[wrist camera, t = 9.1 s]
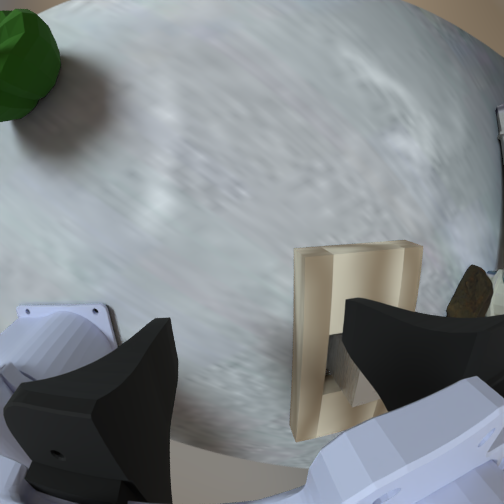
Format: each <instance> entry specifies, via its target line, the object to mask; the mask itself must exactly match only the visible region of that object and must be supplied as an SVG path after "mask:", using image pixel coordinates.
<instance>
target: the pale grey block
mask: <svg viewBox="0 0 504 504" xmlns="http://www.w3.org/2000/svg"><path fill="white" fill-rule="evenodd" d="M326 367H327V369H328V370H329V372H330V373H331V375H332V376H333V378H334V380H335V381H336V383H337V384H338V386H339V387H340V389H341V391H342V392H343V394H344V395H345V397H346V398H347V400H348V401H349V403H350V405H351V406H352V407H356V406H359V405H362V404H366V403H369V402H372V401H375V400H378V399H381V398H380V397H379V395H378V394H377V392H376V391H375V389H374V388H373V387H372V385H371V384H370V383H369V381H368V380H367V379H366V378H365V376H364V375H363V374H362V372H361V371H360V370H359V368H358V367H357V366H356V364H355V363H354V362H353V360H352V359H351V358H350V356H349V354H348V352H347V350H346V348H345V346H344V344H343V342H342V333H338V334H332V335H329V342H328V352H327V362H326Z"/></svg>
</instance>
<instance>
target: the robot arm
mask: <svg viewBox="0 0 504 504" xmlns="http://www.w3.org/2000/svg"><path fill="white" fill-rule="evenodd" d="M94 308H95V309H97V310H98V313H97V312H95V311H94ZM28 310H29V311H30V312H29V311H28ZM16 311H17V315H18V319H17V320H15V321H14V322H13V323H12V324H11V325H10V326H9V327H7V328H6V329H5V330H4V331H3V332H2V333H1V334H0V504H172V495H171V479H170V425H171V418H172V412H173V406H174V400H175V394H176V388H177V382H178V357H177V352H176V347H175V341H174V336H173V331H172V325H171V319H170V318H155V319H154V320H152V321H151V322H150V323H148V324H147V325H146V326H145V327H143V328H142V329H141V330H140V331H139V332H137V333H136V334H135V335H134V336H133V337H131V338H130V339H129V340H127V341H126V342H125V343H123V344H122V345H121V346H119V347H118V346H117V342H116V338H115V335H114V331H113V327H112V323H111V319H110V315H109V311H108V308H107V306H106V305H104V304H101V303H99V304H60V305H19V306H17V308H16ZM342 342H343V344H344V346H345V348H346V350H347V352H348V354H349V356H350V358H351V359H352V360H353V362H354V363H355V364H356V366H357V367H358V368H359V370H360V371H361V372H362V374H363V375H364V376H365V378H366V379H367V380H368V381H369V383H370V384H371V385H372V387H373V388H374V389H375V391H376V392H377V394H378V395H379V397H380V398H381V400H382V402H383V403H384V405H385V407H386V409H387V411H388V412H387V413H384V414H381V415H379V416H376V417H373V418H370V419H368V420H366V421H364V422H362V423H360V424H358V425H355V426H353V427H351V428H349V429H347V430H344V431H343V432H342V433H341V434H339V435H338V436H337V437H336V438H334V439H333V440H332V441H330V442H329V443H328V444H326V445H325V446H324V447H323V448H322V449H321V450H320V452H319V453H318V455H317V457H316V458H315V460H314V461H313V463H312V464H311V466H310V467H309V471H308V476H307V482H306V484H305V485H303V486H300V487H298V488H295V489H292V490H289V491H286V492H283V493H280V494H276V495H273V496H270V497H266V498H263V499H259V500H253V501H246V502H235V503H223V504H504V314H502V315H496V316H489V317H477V318H455V317H441V316H434V315H428V314H422V313H418V312H413V311H409V310H405V309H402V308H398V307H394V306H391V305H388V304H384V303H381V302H377V301H374V300H370V299H366V298H359V297H357V298H351V299H346V300H345V312H344V323H343V333H342Z"/></svg>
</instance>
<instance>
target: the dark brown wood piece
mask: <svg viewBox="0 0 504 504" xmlns="http://www.w3.org/2000/svg"><path fill="white" fill-rule="evenodd" d="M493 293H494V291H493V283H492V281H491V279H490V278H489V276H488V275H487V274H486V272H485V271H484V270H483V269H482V268H480V267H478V266H475V265H471V266H470V267H469V268H468V269H467V271H466V273H465V274H464V276H463V278H462V280H461V281H460V283H459V285H458V288H457V289H456V292H455V294H454V296H453V297H452V299H451V301H450V303H449V305H448V307H447V310H446V311H447V317H455V318H477V317H485V315H486V313H487V311H488V308H489V307H490V304H491V299H492V296H493Z"/></svg>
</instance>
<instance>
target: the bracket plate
mask: <svg viewBox="0 0 504 504" xmlns="http://www.w3.org/2000/svg"><path fill="white" fill-rule="evenodd" d="M422 255H423V246H421V245H418V244H415V243H412V242H409V241H406V240H398V241H385V242H372V243H359V244H346V245H332V246H319V247H306V248H294V321H293V361H292V387H291V408H290V428H291V430H292V433H293V436H294V439H295V441H296V442H299V441H304V440H309V439H313V438H317V437H321V436H326V435H329V434H333V433H337V432H341V431H344V430H347V429H349V428H351V427H353V426H355V425H358V424H360V423H362V422H364V421H366V420H368V419H370V418H373V417H376V416H379V415H381V414H384V413H387V412H388V411H387V409H386V407H385V405H384V403H383V402H382V400H381V399H378V400H375V401H372V402H369V403H366V404H362V405H359V406H356V407H352V406H351V405H350V403H349V401H348V400H347V398H346V397H345V395H344V394H343V392H342V391H341V389H340V387H339V386H338V384H337V383H336V381H335V380H334V378H333V376H332V375H326V376H325V371H326V362H327V352H328V342H329V335H332V334H338V333H343V323H344V312H345V300H346V299H351V298H357V297H359V298H366V299H370V300H374V301H377V302H381V303H384V304H388V305H391V306H394V307H398V308H402V309H405V310H409V311H413V312H415V307H416V301H417V295H418V288H419V281H420V273H421V264H422Z"/></svg>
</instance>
